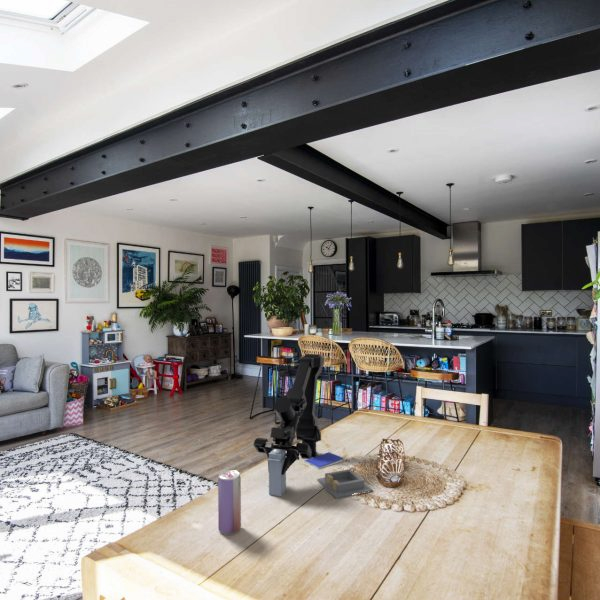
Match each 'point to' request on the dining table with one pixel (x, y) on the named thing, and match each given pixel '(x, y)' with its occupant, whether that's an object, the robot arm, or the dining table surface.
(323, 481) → the chassis
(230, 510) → the beverage can
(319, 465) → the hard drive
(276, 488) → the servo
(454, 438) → the dining table surface
